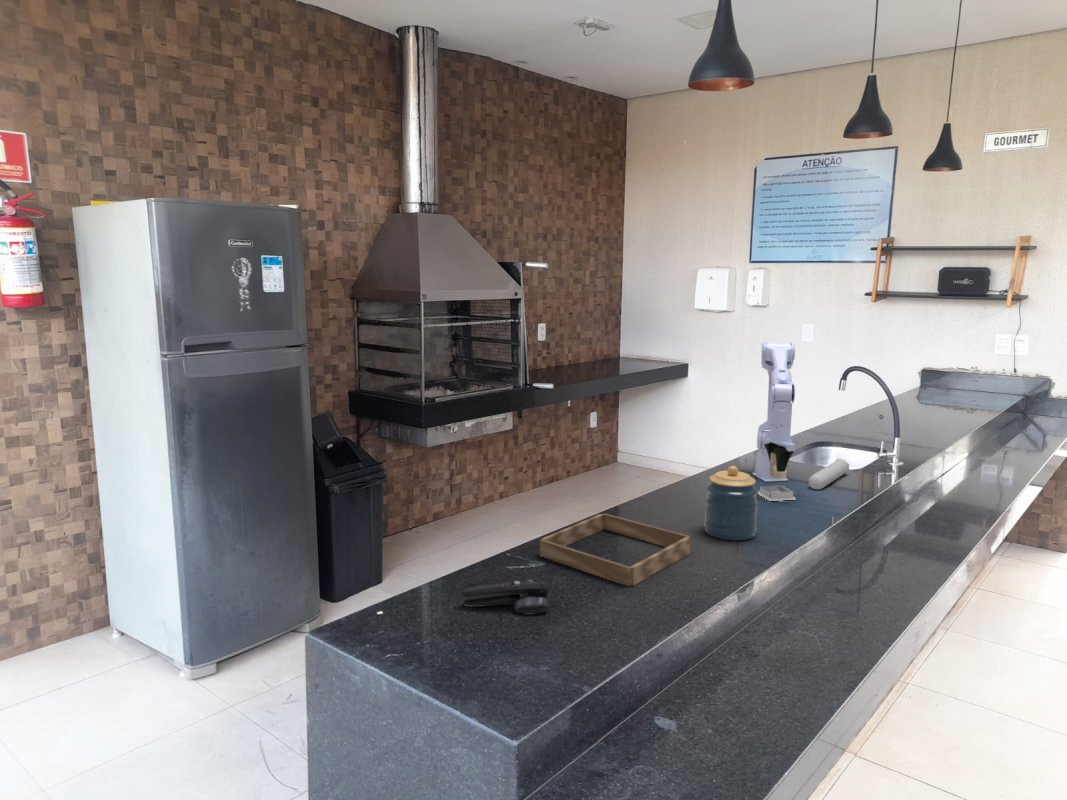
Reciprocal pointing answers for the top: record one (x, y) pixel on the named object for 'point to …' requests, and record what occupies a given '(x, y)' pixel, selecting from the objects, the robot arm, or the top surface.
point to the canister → (731, 505)
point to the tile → (775, 499)
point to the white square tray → (768, 489)
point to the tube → (828, 474)
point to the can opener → (511, 596)
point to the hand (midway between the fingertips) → (777, 469)
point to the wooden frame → (613, 571)
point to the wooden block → (773, 468)
